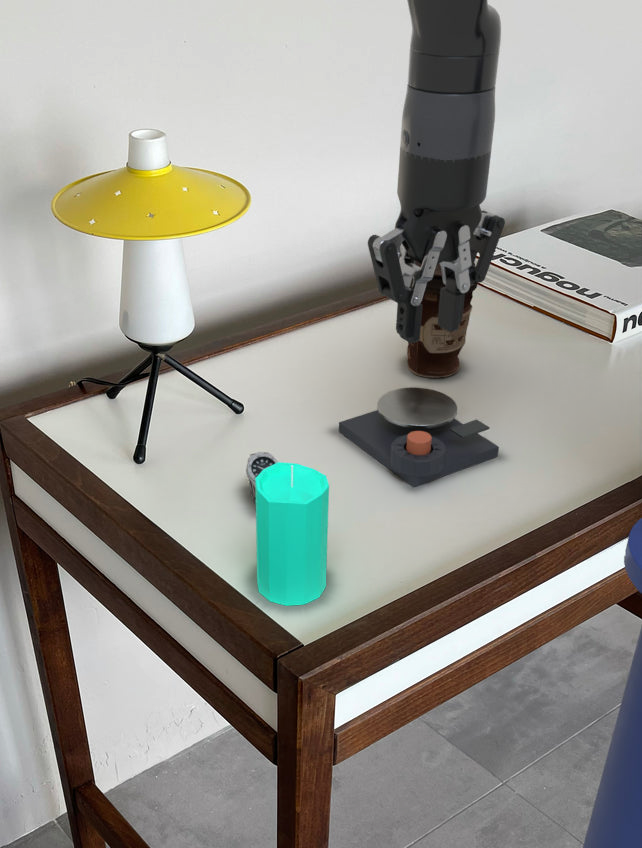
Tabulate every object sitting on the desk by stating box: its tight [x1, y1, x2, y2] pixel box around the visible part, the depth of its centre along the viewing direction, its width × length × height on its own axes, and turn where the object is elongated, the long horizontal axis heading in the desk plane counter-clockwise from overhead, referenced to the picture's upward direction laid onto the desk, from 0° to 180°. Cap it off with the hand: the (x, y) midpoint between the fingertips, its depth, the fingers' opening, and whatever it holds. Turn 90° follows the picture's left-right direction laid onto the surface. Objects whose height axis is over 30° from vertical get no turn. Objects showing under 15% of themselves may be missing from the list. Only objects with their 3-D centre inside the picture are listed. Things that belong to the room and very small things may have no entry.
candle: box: [255, 461, 330, 607], centre depth 84 cm, size 6×6×12 cm
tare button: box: [406, 431, 432, 455], centre depth 100 cm, size 2×2×2 cm
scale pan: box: [376, 387, 491, 438], centre depth 106 cm, size 12×8×1 cm
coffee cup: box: [406, 261, 479, 378], centre depth 118 cm, size 9×8×13 cm
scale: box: [338, 409, 500, 488], centre depth 106 cm, size 14×12×3 cm
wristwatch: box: [245, 451, 279, 505], centre depth 97 cm, size 4×6×5 cm, turn 12°
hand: (428, 333), depth 94 cm, fingers open, 4 cm apart
